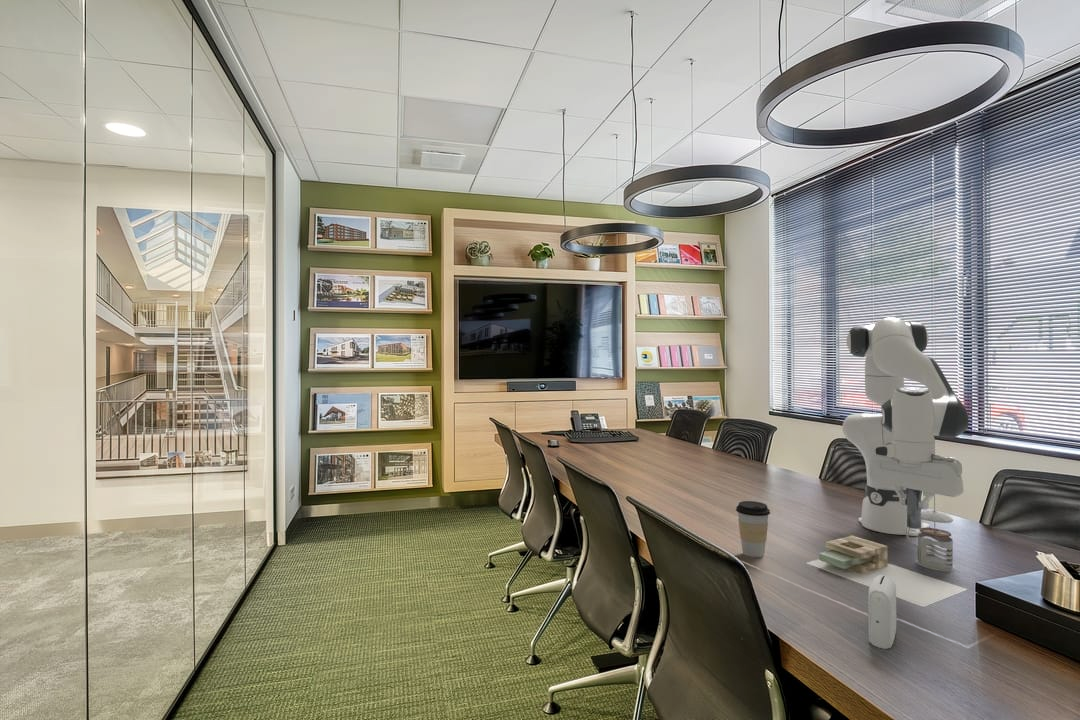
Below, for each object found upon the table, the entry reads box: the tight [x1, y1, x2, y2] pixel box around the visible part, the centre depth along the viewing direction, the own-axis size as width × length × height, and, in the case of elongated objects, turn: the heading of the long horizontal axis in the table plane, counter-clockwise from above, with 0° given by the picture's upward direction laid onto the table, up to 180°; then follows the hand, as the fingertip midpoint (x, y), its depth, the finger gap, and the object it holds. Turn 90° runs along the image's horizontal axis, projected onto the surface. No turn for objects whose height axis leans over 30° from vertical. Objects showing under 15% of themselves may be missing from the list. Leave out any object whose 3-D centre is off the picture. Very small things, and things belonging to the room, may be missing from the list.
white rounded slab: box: [867, 575, 897, 650], centre depth 108 cm, size 10×4×12 cm, turn 140°
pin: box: [906, 488, 922, 529], centre depth 131 cm, size 3×3×10 cm
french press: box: [905, 494, 957, 572], centre depth 146 cm, size 10×12×25 cm
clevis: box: [818, 535, 888, 574], centre depth 145 cm, size 17×10×6 cm, turn 117°
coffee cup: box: [735, 500, 771, 558], centre depth 155 cm, size 9×9×15 cm
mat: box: [806, 558, 969, 608], centre depth 138 cm, size 20×30×1 cm, turn 27°
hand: (913, 506), depth 131 cm, fingers closed on pin, 3 cm apart
